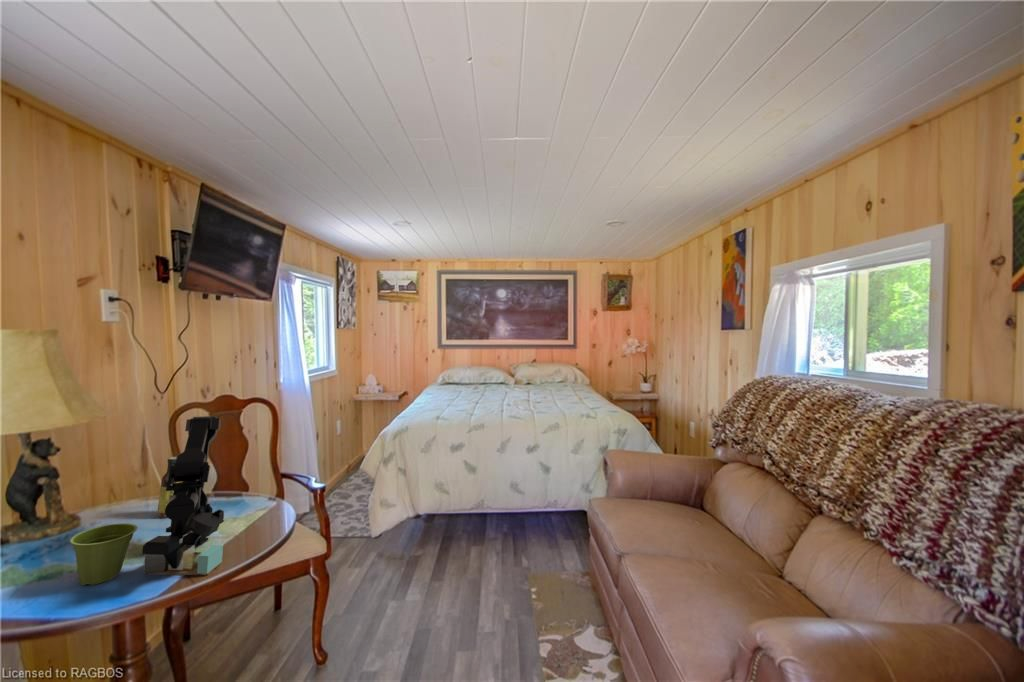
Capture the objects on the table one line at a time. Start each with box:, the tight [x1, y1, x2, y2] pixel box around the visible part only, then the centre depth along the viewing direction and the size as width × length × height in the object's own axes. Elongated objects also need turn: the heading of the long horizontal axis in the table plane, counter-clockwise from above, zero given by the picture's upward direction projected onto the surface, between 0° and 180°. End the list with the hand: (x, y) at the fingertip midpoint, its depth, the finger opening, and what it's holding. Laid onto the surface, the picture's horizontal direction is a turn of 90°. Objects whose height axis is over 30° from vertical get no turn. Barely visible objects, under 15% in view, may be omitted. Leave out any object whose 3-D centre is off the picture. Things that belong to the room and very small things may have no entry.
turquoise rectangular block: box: [197, 544, 224, 574], centre depth 102 cm, size 2×6×5 cm, turn 4°
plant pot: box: [69, 522, 138, 586], centre depth 97 cm, size 12×12×11 cm
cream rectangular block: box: [166, 545, 202, 570], centre depth 102 cm, size 11×4×5 cm, turn 93°
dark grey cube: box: [143, 554, 167, 573], centre depth 102 cm, size 5×5×4 cm
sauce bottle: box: [157, 456, 181, 519], centre depth 133 cm, size 7×6×20 cm
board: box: [143, 562, 222, 576], centre depth 102 cm, size 16×5×1 cm, turn 93°
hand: (181, 563), depth 102 cm, fingers closed on cream rectangular block, 4 cm apart
